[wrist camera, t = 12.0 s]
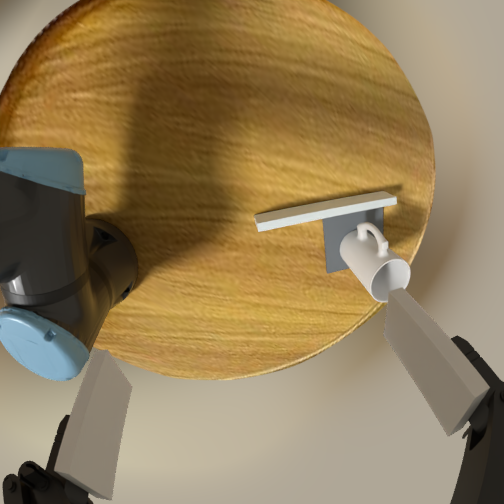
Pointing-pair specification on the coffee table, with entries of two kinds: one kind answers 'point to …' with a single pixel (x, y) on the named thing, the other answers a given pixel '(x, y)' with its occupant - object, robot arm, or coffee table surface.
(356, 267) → the mug
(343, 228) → the mat
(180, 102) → the coffee table surface
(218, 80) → the coffee table surface
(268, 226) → the wall
